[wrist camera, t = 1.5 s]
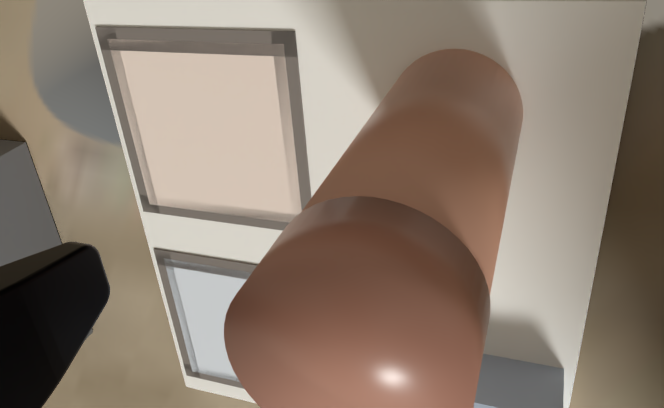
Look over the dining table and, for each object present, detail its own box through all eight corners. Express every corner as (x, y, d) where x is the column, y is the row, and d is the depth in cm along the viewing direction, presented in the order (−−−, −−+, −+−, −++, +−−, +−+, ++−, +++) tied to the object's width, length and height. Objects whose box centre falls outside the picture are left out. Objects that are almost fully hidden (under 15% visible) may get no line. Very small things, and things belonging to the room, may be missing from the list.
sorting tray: (645, -3, 12) (646, 1, 11) (556, 466, 19) (556, 476, 18) (90, -5, 16) (81, -1, 15) (190, 380, 23) (185, 388, 22)
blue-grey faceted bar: (564, 367, 16) (563, 423, 15) (555, 415, 17) (553, 472, 16) (338, 325, 18) (317, 370, 17) (342, 370, 19) (322, 417, 18)
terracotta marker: (532, 48, 12) (483, 289, 6) (519, 181, 14) (467, 487, 7) (386, 44, 13) (204, 246, 7) (388, 168, 15) (242, 430, 8)
